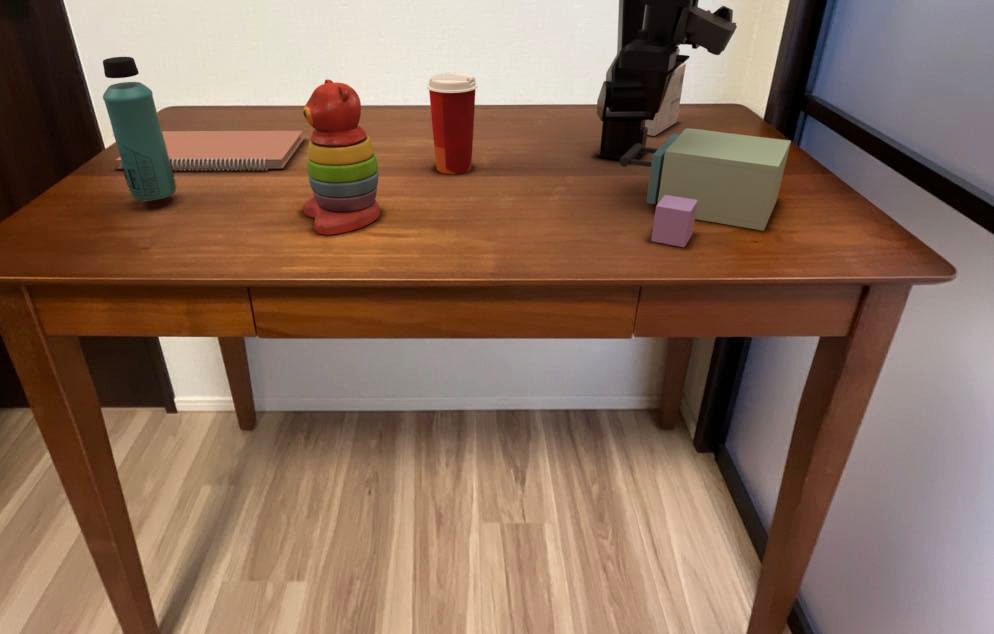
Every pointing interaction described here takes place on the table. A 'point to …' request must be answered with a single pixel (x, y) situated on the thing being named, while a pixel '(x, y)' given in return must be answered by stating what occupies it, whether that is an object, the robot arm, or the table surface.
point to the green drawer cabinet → (726, 175)
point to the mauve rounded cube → (674, 220)
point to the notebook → (229, 149)
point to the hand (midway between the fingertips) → (654, 112)
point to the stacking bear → (339, 162)
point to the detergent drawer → (650, 165)
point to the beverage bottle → (137, 133)
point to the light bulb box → (668, 104)
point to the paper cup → (452, 120)
